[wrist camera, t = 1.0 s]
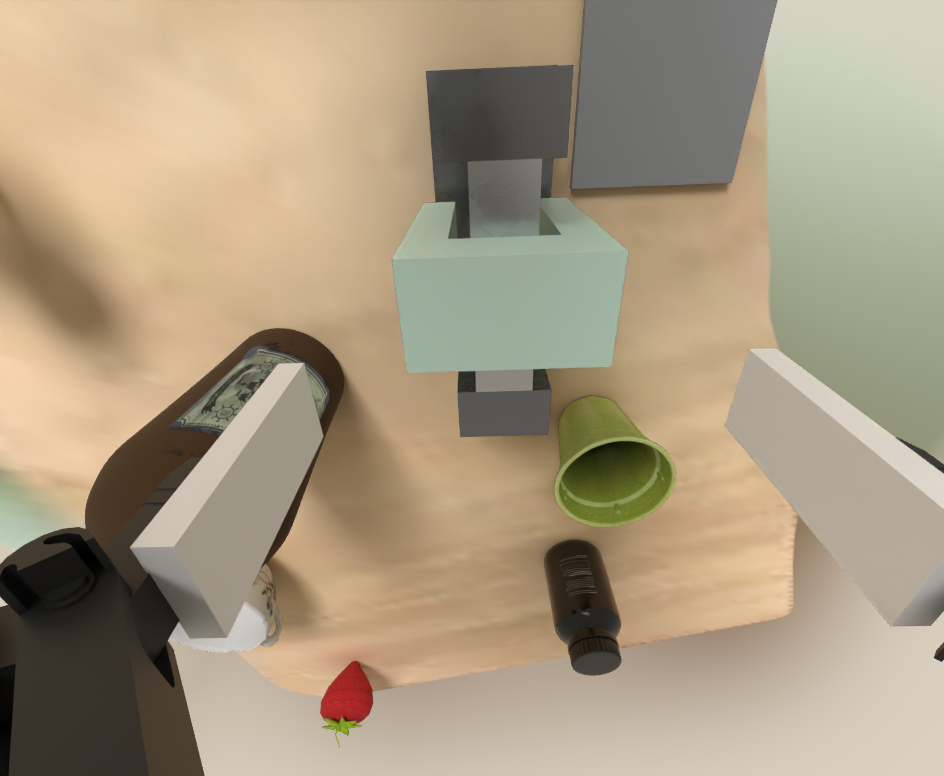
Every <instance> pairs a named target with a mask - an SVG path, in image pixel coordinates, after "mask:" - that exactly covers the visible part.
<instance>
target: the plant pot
mask: <svg viewBox="0 0 944 776" xmlns="http://www.w3.org/2000/svg"><path fill="white" fill-rule="evenodd" d="M558 430H559V447H560V468H559V471H558V473H557V476H556V479H555V484H554V493H555V498H556V501H557V503H558V505H559V506H560V508H561V509H562V510H563V512H564V513H565V514H566V515H568V516H569V517H570V518H572V519H574V520H576V521H578V522H580V523H583V524H586V525H590V526H596V527H614V526H621V525H625V524H629V523H633V522H635V521H638V520H640V519H642V518H644V517H646V516H648V515H650V514H651V513H653V512H654V511H655V510H657V509H658V508H659V507H660V506H661V505H662V504H663V503H664V502H665V501H666V500H667V499H668V497H669V496H670V494H671V493H672V491H673V488H674V485H675V481H676V468H675V464H674V462H673V460H672V458H671V457H670V455H669V454H668V453H667V452H666V450H665V449H663V448H662V447H661V446H660V445H658V444H657V443H655V442H653V441H650V440H649V439H648V438H646V437H645V436H644V435H643V434H642V433H641V432H640V431H639V430H638V429H637V427H636V426H635V425H634V424H633V423H632V421H631V420H630V419H629V418H628V416H627V415H626V414H625V413H624V412H623V410H622V409H621V408H620V407H619V406H618V405H617V404H616V403H615V402H614V401H612V400H610V399H606V398H601V397H597V396H588V397H584V398H581V399H578V400H576V401H574V402H573V403H571V404H570V405H569V406H568V407H567V408H566V409H565V410H564V411H563V414H562V416H561V418H560V421H559V424H558Z"/></svg>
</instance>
